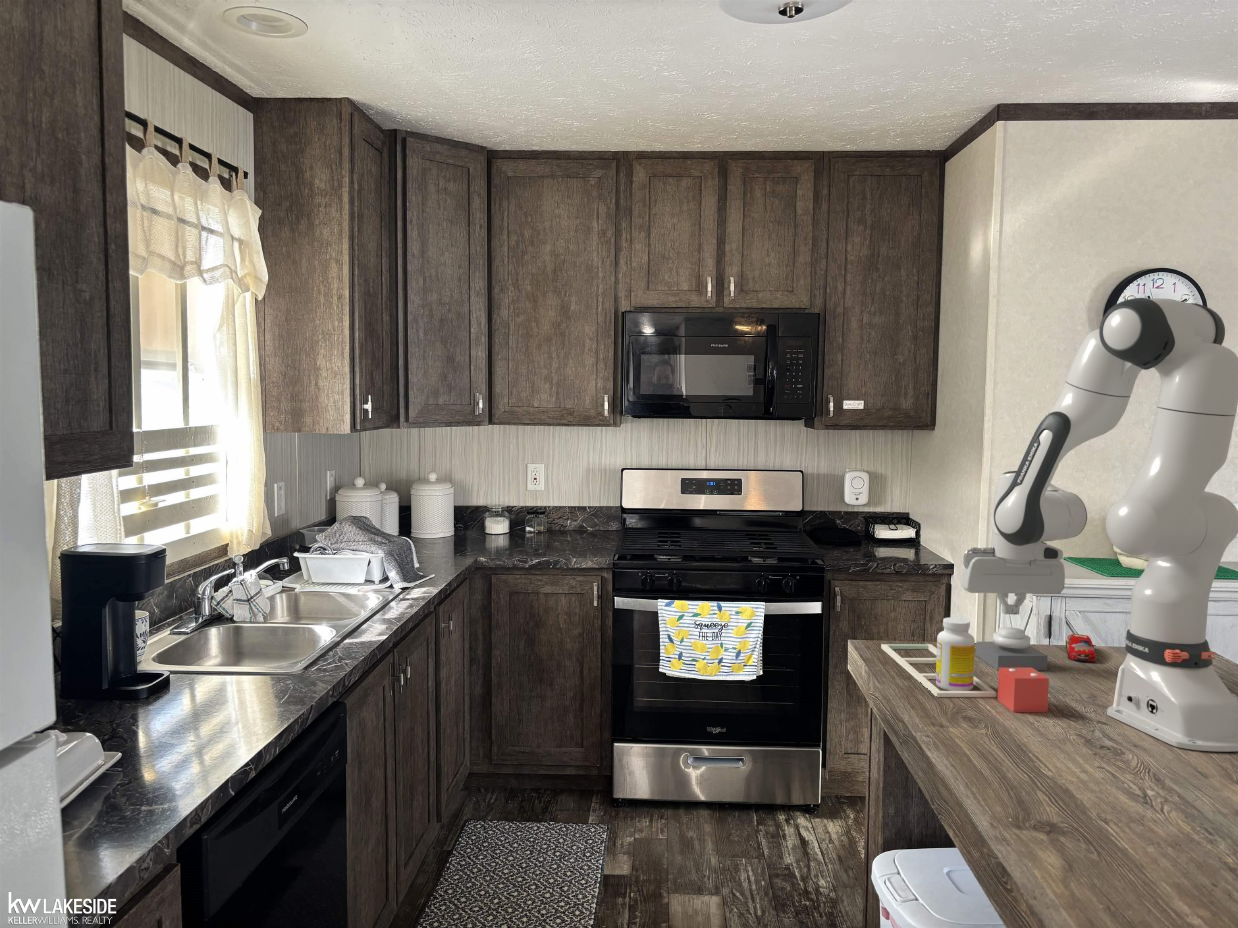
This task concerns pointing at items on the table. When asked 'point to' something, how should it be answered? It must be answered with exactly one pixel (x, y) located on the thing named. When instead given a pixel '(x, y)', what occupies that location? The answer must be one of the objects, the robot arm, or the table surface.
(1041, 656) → the dome base
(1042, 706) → the die
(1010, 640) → the dome
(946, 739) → the table surface
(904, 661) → the track
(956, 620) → the supplement bottle
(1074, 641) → the race car
